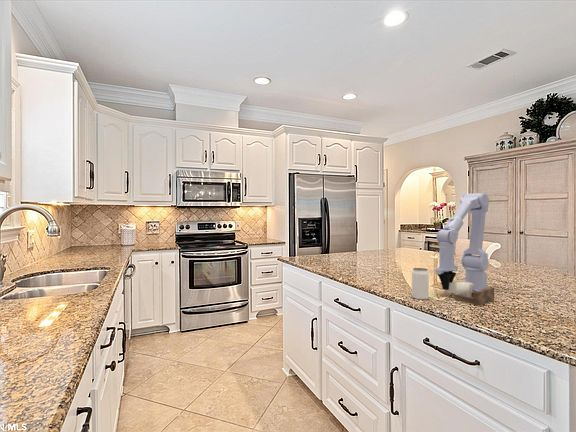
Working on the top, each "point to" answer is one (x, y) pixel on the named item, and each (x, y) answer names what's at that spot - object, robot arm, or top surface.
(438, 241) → the robot arm
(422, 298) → the can
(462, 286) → the jug
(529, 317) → the top surface
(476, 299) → the holder
